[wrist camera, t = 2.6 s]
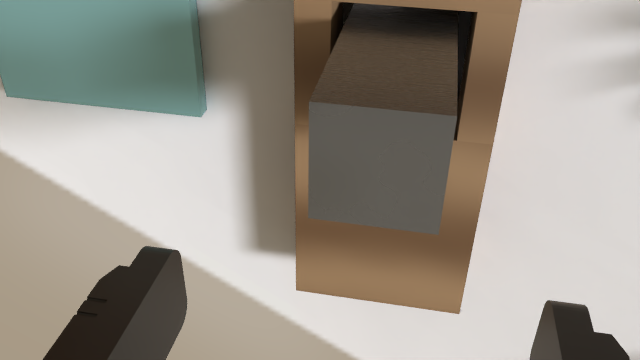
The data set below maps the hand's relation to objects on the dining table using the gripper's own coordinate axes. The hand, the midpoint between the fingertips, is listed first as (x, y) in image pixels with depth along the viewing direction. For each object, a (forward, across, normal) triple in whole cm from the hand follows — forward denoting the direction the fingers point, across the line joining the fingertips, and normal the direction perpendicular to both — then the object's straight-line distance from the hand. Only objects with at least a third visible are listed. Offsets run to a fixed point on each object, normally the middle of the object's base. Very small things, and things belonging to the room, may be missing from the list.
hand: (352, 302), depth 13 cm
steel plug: (+15, 0, 0) cm, 15 cm away
